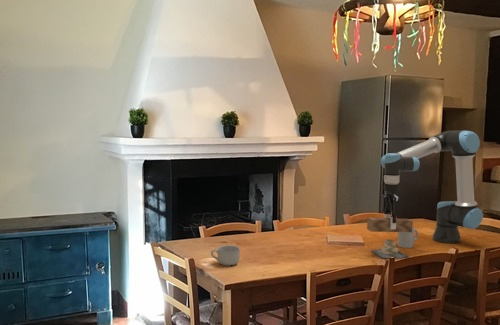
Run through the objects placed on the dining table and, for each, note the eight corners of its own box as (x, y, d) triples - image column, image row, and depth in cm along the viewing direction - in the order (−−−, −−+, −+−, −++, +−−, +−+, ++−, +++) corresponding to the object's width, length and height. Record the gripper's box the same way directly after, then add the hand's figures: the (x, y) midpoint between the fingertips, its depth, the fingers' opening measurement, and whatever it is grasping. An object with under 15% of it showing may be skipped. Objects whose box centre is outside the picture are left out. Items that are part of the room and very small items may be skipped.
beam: (406, 229, 250) (407, 218, 250) (411, 232, 244) (412, 220, 244) (366, 229, 246) (367, 217, 246) (371, 231, 240) (372, 219, 240)
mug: (403, 248, 259) (404, 228, 258) (394, 244, 267) (394, 225, 267) (422, 247, 263) (422, 227, 262) (412, 243, 271) (412, 224, 270)
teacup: (239, 261, 233) (239, 245, 233) (240, 267, 223) (240, 250, 222) (211, 261, 233) (211, 245, 232) (210, 267, 222) (210, 250, 221)
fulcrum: (395, 250, 254) (396, 237, 254) (408, 258, 241) (409, 243, 240) (371, 251, 252) (371, 237, 251) (382, 259, 238) (383, 244, 238)
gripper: (376, 181, 252) (375, 224, 254) (393, 185, 234) (391, 232, 235) (389, 181, 253) (388, 223, 255) (407, 185, 235) (405, 231, 237)
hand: (390, 227), depth 245 cm, fingers closed on beam, 6 cm apart
